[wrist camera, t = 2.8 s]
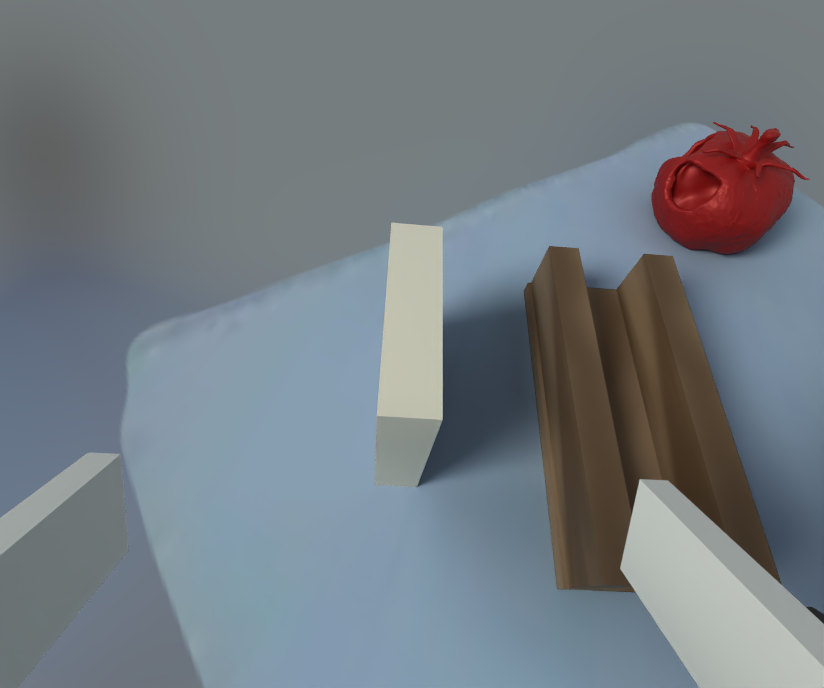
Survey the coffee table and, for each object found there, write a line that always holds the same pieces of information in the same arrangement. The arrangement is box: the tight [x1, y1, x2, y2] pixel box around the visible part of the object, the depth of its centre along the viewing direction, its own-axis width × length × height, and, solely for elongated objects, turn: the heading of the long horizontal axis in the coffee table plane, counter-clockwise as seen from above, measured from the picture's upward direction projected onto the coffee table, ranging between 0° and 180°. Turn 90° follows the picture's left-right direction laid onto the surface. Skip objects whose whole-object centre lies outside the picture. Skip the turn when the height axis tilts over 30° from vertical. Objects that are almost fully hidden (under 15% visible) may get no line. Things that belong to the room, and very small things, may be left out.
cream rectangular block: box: [374, 223, 443, 487], centre depth 25 cm, size 2×10×11 cm, turn 178°
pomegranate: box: [652, 122, 809, 254], centre depth 36 cm, size 10×10×9 cm
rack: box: [524, 246, 782, 592], centre depth 28 cm, size 9×20×5 cm, turn 178°
